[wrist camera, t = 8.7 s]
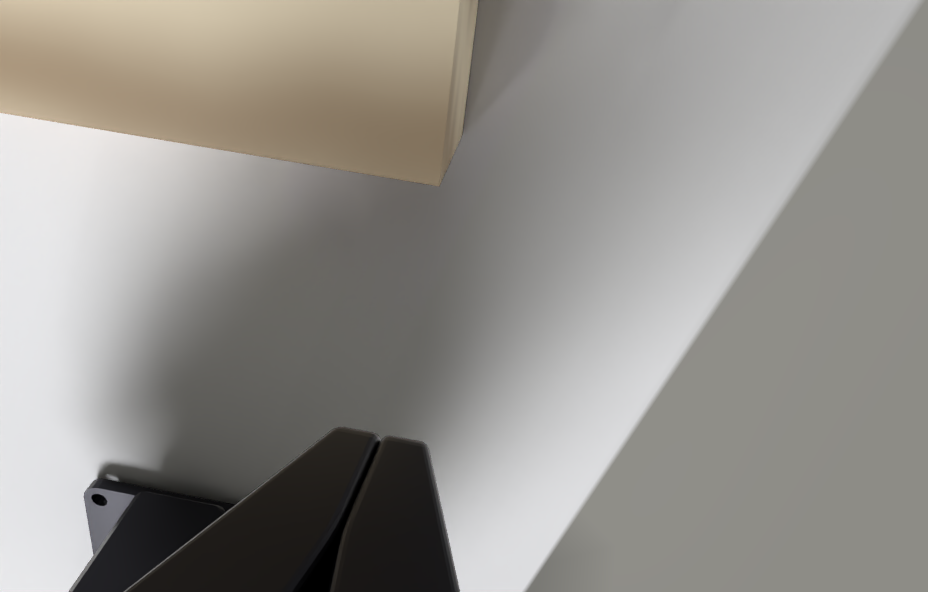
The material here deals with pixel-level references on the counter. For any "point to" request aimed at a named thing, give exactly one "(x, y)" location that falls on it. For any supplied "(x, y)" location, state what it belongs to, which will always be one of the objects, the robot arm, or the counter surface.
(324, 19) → the panel
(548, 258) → the counter surface
